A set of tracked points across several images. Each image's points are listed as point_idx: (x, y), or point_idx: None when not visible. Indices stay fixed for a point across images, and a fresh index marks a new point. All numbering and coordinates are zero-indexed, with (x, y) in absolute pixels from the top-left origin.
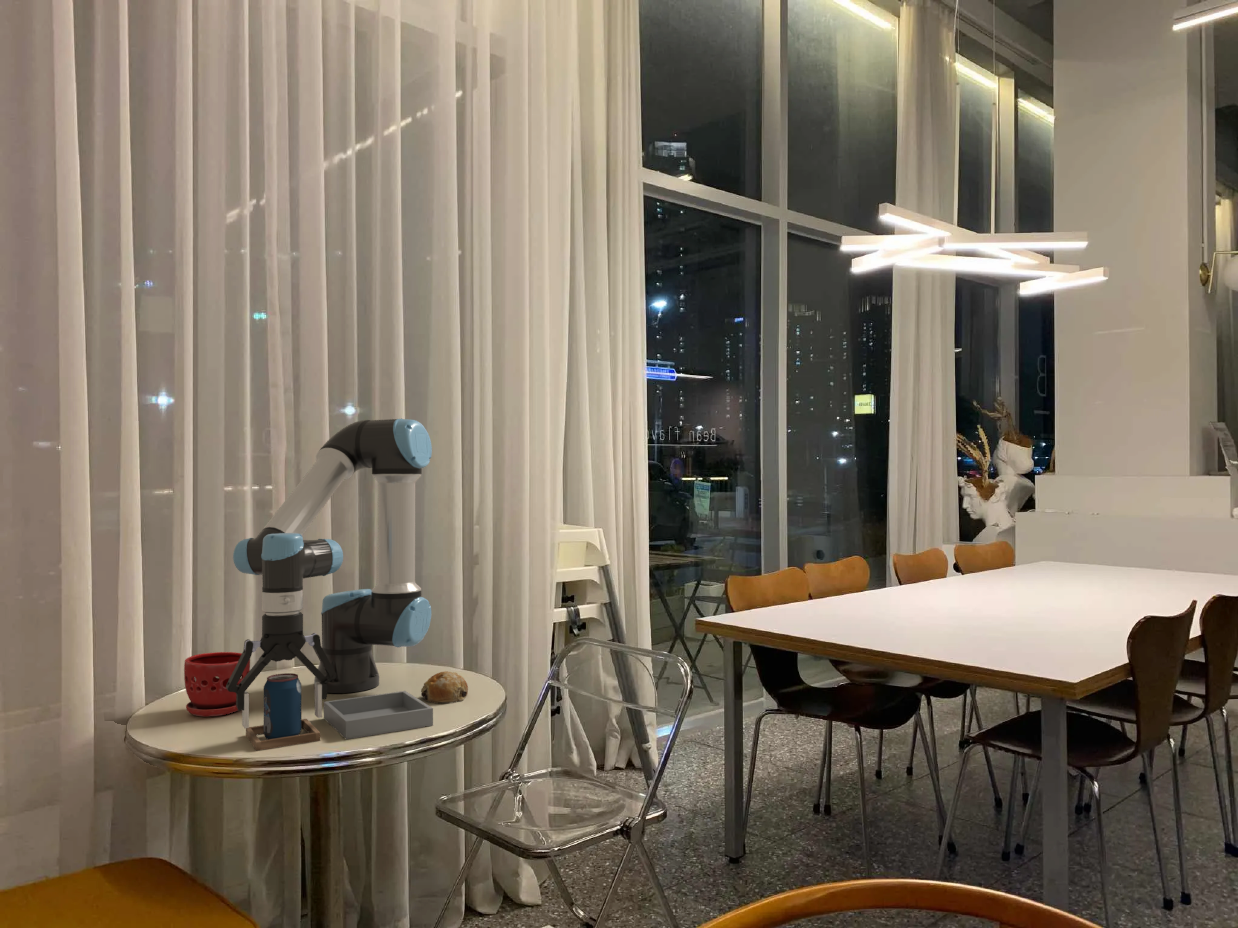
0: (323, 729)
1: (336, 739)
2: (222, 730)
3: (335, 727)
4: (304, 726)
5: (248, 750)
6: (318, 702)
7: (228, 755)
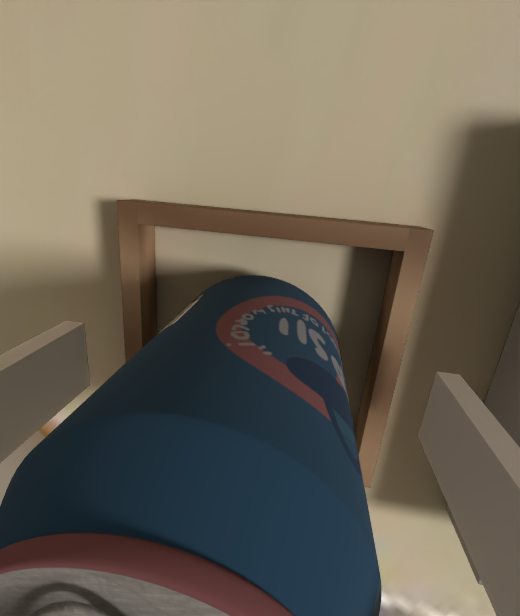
0: (454, 334)
1: (418, 487)
2: (43, 19)
3: (500, 374)
4: (392, 271)
5: None
6: (453, 508)
7: (61, 414)
